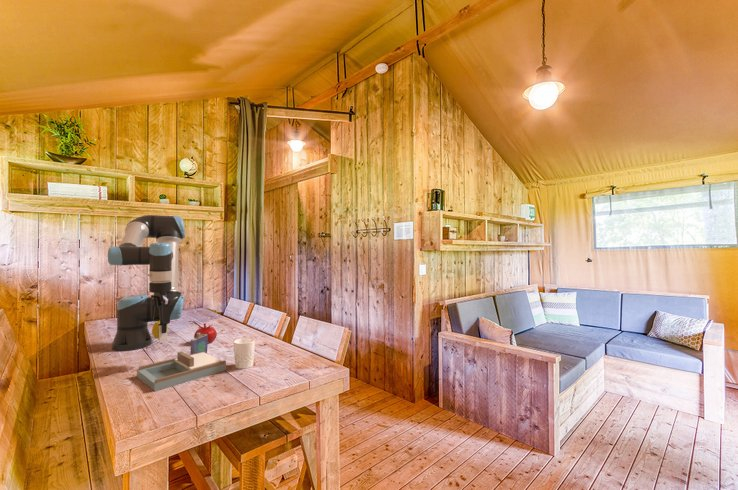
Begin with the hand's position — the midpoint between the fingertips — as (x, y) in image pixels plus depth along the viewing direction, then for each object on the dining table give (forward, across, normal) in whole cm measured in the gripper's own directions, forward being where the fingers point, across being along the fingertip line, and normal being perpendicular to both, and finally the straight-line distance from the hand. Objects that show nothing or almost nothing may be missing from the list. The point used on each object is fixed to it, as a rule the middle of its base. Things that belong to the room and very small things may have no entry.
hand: (160, 338), depth 133 cm
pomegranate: (+11, -15, +25) cm, 31 cm away
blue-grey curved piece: (+10, +6, +13) cm, 17 cm away
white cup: (+10, +28, +21) cm, 36 cm away
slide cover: (+7, +18, +7) cm, 20 cm away
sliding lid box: (+9, +18, +2) cm, 20 cm away
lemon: (+1, 0, 0) cm, 1 cm away
